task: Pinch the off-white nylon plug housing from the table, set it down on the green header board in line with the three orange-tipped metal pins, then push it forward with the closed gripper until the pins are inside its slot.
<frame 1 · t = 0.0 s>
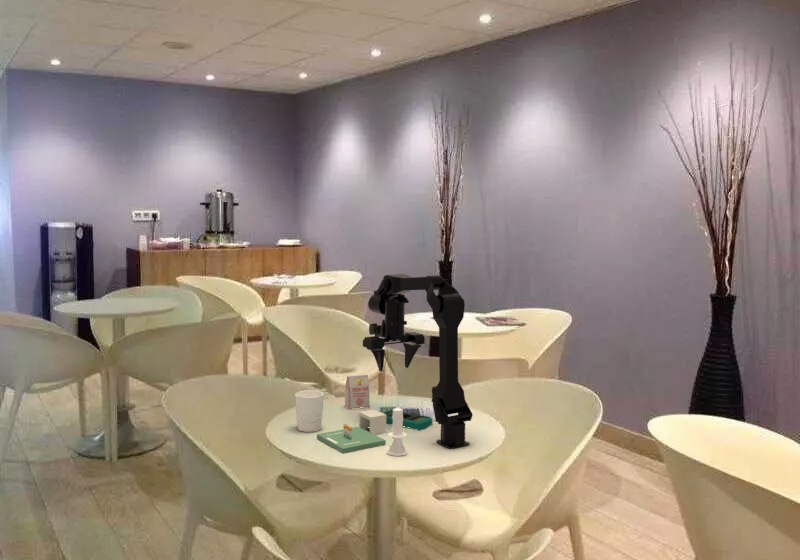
hand: (393, 369, 220), 15 cm above the table, tool pointing down, fingers open, 9 cm apart
header board: (350, 441, 199), on the table
plug housing: (372, 430, 209), on the table
tea bag: (357, 407, 233), on the table
white cup: (309, 429, 210), on the table
digital multimeter: (405, 425, 217), on the table
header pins: (347, 442, 199), resting on header board
candle: (397, 453, 191), on the table
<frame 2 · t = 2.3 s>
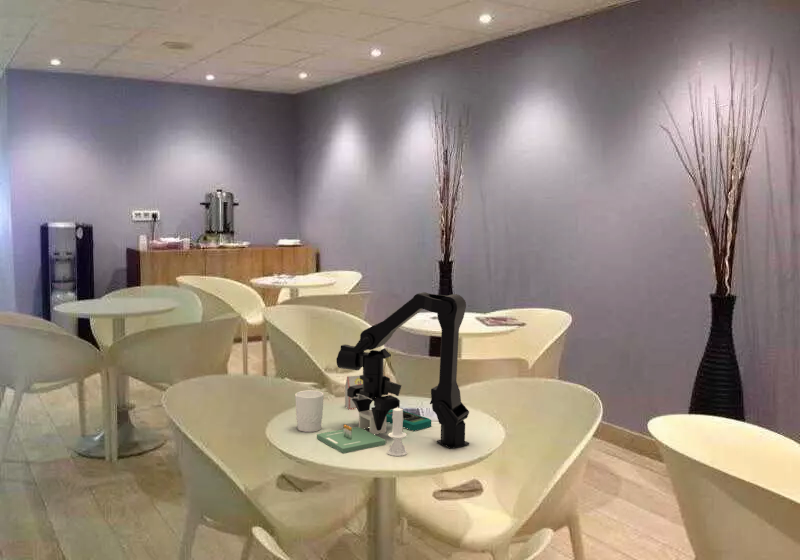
hand: (372, 427, 209), 1 cm above the table, tool pointing down, fingers closed on plug housing, 6 cm apart
plug housing: (372, 430, 209), on the table, touching gripper
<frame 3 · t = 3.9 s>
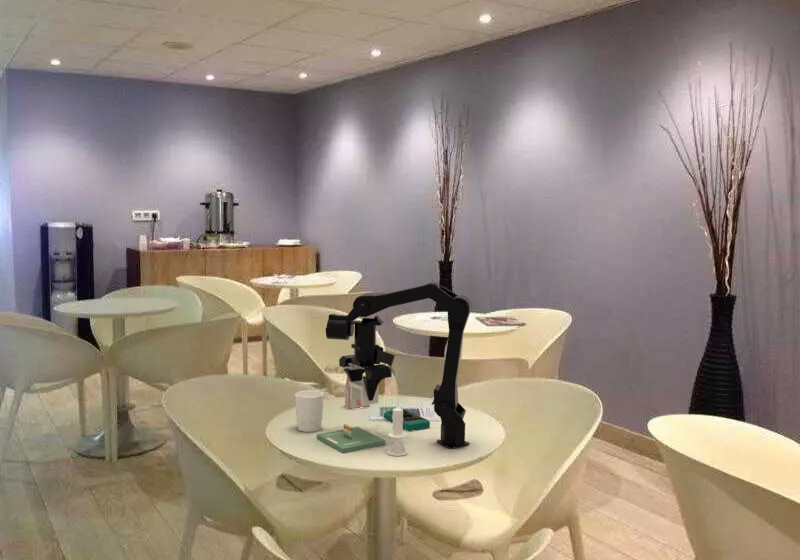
hand: (364, 397, 202), 11 cm above the table, tool pointing down, fingers closed on plug housing, 6 cm apart
plug housing: (364, 401, 202), point 10 cm above the table, touching gripper
when the fingers open (3 cm above the table, at t = 5.7 s): plug housing stays where it is, resting on header board.
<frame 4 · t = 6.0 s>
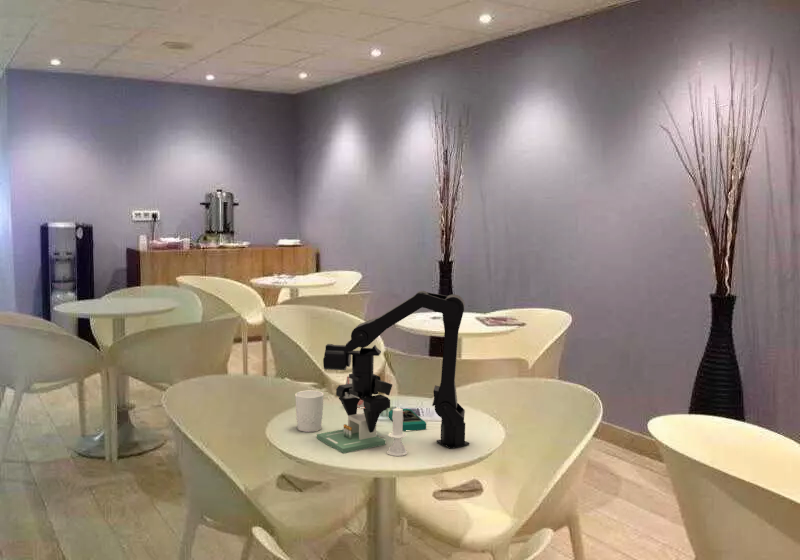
hand: (362, 427, 201), 3 cm above the table, tool pointing down, fingers open, 9 cm apart
plug housing: (361, 435, 201), point 1 cm above the table, touching header board
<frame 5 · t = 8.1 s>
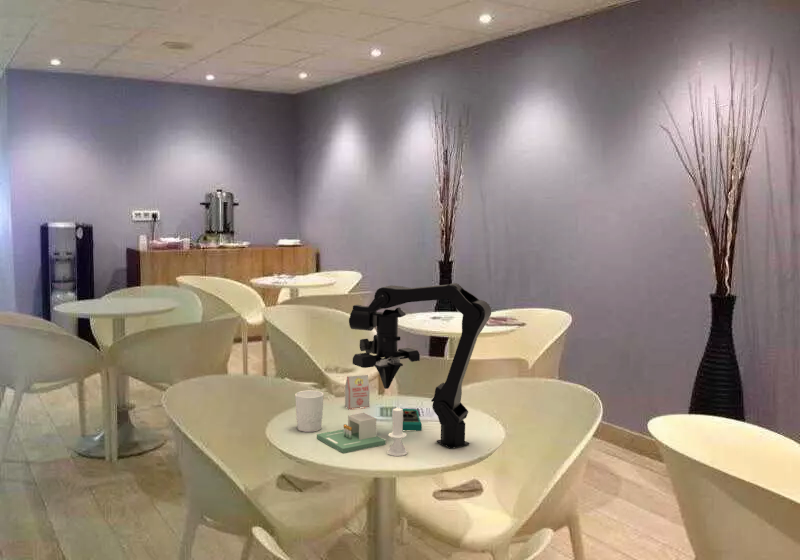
hand: (386, 388, 204), 13 cm above the table, tool pointing down, fingers closed
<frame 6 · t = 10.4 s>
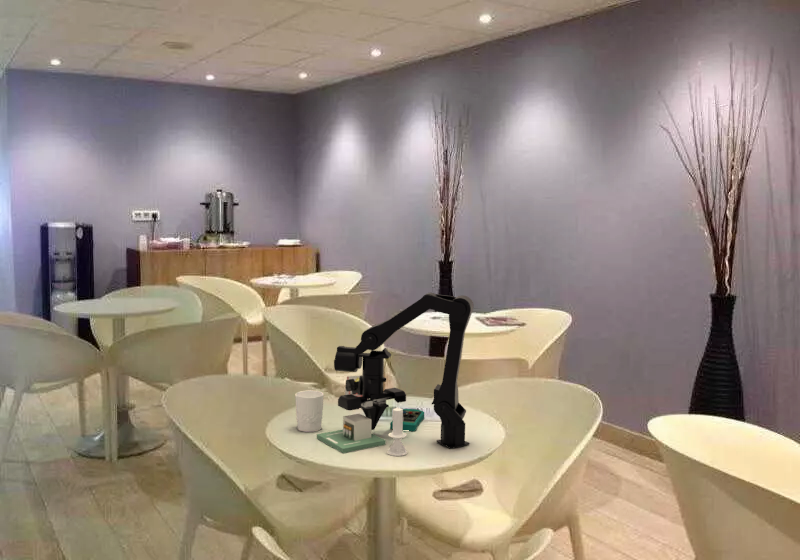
hand: (372, 429, 203), 2 cm above the table, tool pointing down, fingers closed
plug housing: (357, 435, 200), point 1 cm above the table, touching gripper, header board
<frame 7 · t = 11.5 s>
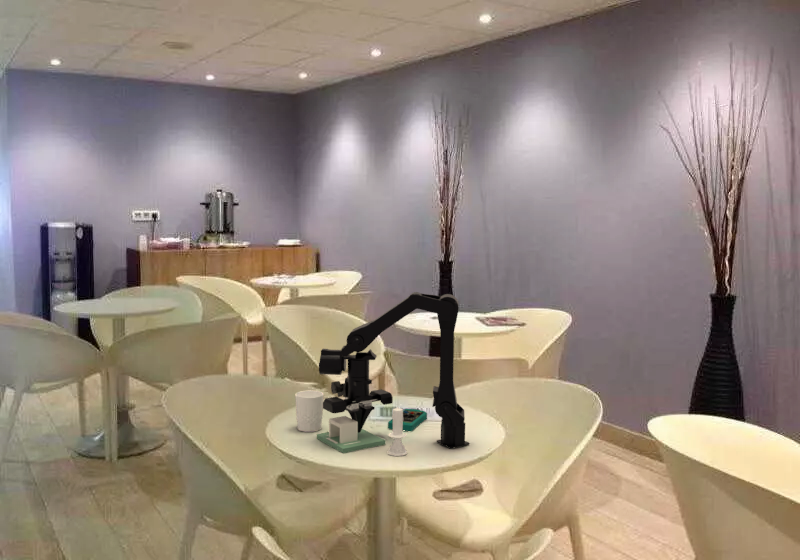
hand: (358, 432, 200), 2 cm above the table, tool pointing down, fingers closed
plug housing: (343, 438, 198), point 1 cm above the table, touching gripper, header board, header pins
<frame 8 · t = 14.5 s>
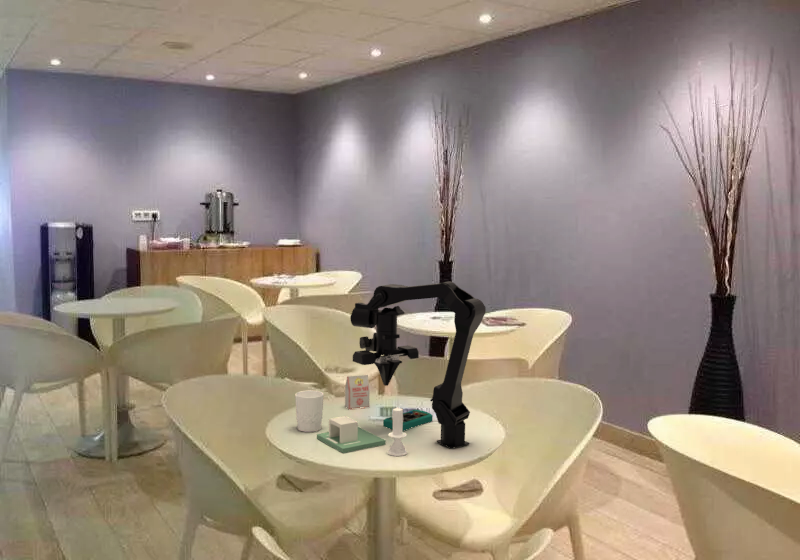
hand: (385, 385, 208), 13 cm above the table, tool pointing down, fingers closed
plug housing: (343, 438, 198), point 1 cm above the table, touching header board
at the end: plug housing 0.3 cm from the target spot, point 1.2 cm above the table; plug housing tilted 0°; the gripper is holding nothing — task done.
